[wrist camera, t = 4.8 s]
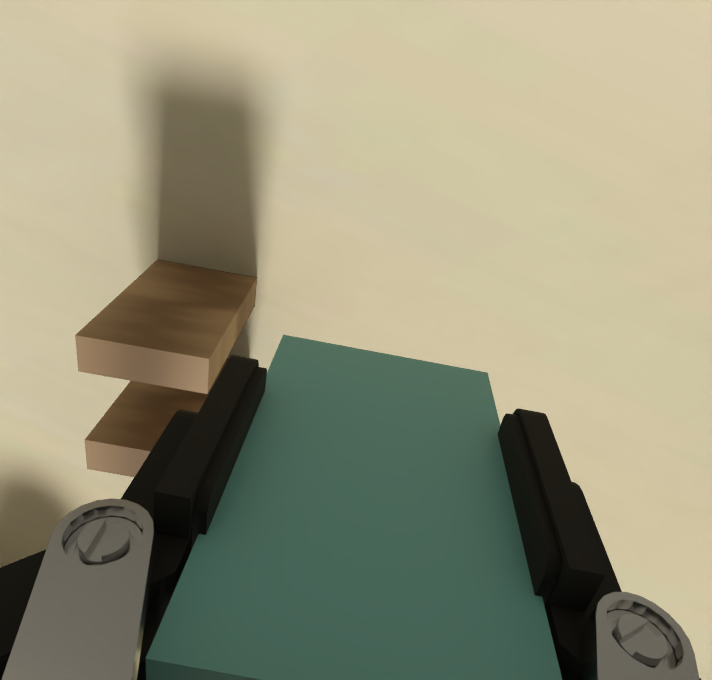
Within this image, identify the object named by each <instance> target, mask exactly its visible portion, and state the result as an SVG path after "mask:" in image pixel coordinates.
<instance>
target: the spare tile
mask: <svg viewBox="0 0 712 680" xmlns="http://www.w3.org/2000/svg"><path fill="white" fill-rule="evenodd" d="M499 428H500V422H499V418H498V414H497V410H496V406H495V402H494V398H493V394H492V390H491V386H490V381H489V377H488V373H486V372H480V371H475V370H470V369H464V368H459V367H454V366H448V365H443V364H438V363H432V362H427V361H421V360H416V359H411V358H405V357H400V356H395V355H389V354H384V353H378V352H373V351H368V350H362V349H357V348H352V347H346V346H341V345H335V344H330V343H325V342H319V341H314V340H309V339H303V338H298V337H292V336H287V335H283V337H282V339H281V342H280V344H279V346H278V349H277V351H276V353H275V356H274V358H273V360H272V363H271V365H270V367H269V370H268V372H267V377H266V386H265V392H264V395H263V397H262V399H261V402H260V404H259V407H258V409H257V412H256V414H255V417H254V419H253V421H252V424H251V426H250V429H249V431H248V434H247V436H246V439H245V441H244V443H243V446H242V448H241V451H240V453H239V456H238V458H237V461H236V463H235V465H234V468H233V470H232V473H231V475H230V478H229V480H228V483H227V485H226V487H225V490H224V492H223V495H222V497H221V500H220V502H219V504H218V507H217V509H216V512H215V514H214V517H213V519H212V522H211V524H210V526H209V529H208V531H207V534H206V535H202V534H198V536H197V539H196V541H195V543H194V546H193V548H192V551H191V553H190V555H189V558H188V560H187V562H186V565H185V567H184V569H183V572H182V574H181V576H180V579H179V581H178V583H177V586H176V588H175V590H174V593H173V595H172V598H171V600H170V602H169V605H168V607H167V609H166V612H165V614H164V616H163V619H162V621H161V623H160V626H159V628H158V630H157V633H156V635H155V637H154V640H153V642H152V644H151V647H150V649H149V652H148V654H147V656H146V680H562V676H561V672H560V668H559V664H558V660H557V656H556V652H555V647H554V643H553V639H552V635H551V631H550V627H549V623H548V619H547V615H546V611H545V607H544V602H543V598H542V597H541V596H535V594H534V590H533V586H532V582H531V577H530V573H529V569H528V564H527V560H526V556H525V551H524V547H523V543H522V538H521V534H520V530H519V525H518V521H517V517H516V512H515V508H514V504H513V499H512V495H511V491H510V486H509V482H508V478H507V473H506V469H505V465H504V460H503V456H502V452H501V447H500V443H499V439H498V431H499Z"/></svg>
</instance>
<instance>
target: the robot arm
mask: <svg viewBox="0 0 712 680" xmlns="http://www.w3.org/2000/svg"><path fill="white" fill-rule="evenodd" d="M258 366H259V363H258V360H256V359H250V358H245V357H240V356H234V355H231V356H230V358H229V359H228V361H227V363H226V365H225V366H224V368H223V370H222V372H221V373H220V375H219V377H218V379H217V380H216V382H215V384H214V386H213V388H212V389H211V391H210V393H209V395H208V396H207V398H206V400H205V402H204V403H203V405H202V407H201V409H200V410H199V412H192V411H187V410H181V409H180V410H178V411H177V412H176V413H175V414H174V415H173V417H172V418H171V420H170V422H169V423H168V425H167V426H166V428H165V430H164V431H163V433H162V434H161V436H160V438H159V439H158V441H157V442H156V444H155V445H154V447H153V449H152V450H151V452H150V453H149V455H148V457H147V458H146V460H145V461H144V463H143V465H142V466H141V468H140V469H139V471H138V472H137V474H136V476H135V477H134V479H133V480H132V482H131V484H130V485H129V487H128V488H127V490H126V492H125V493H124V495H123V496H122V498H121V499H104V500H97V501H94V502H91V503H88V504H85V505H82V506H80V507H79V508H77V509H75V510H73V511H72V512H70V513H68V514H67V515H66V516H65V517H64V518H63V519H62V520H61V521H60V522H59V523H58V524H57V526H56V528H55V530H54V531H53V533H52V535H51V538H50V540H49V543H48V546H47V549H46V550H44V551H41V552H39V553H36V554H34V555H31V556H29V557H26V558H24V559H21V560H19V561H16V562H14V563H11V564H9V565H6V566H4V567H1V568H0V680H146V656H147V654H148V652H149V649H150V647H151V644H152V642H153V640H154V637H155V635H156V633H157V630H158V628H159V626H160V623H161V621H162V619H163V616H164V614H165V612H166V609H167V607H168V605H169V602H170V600H171V598H172V595H173V593H174V590H175V588H176V586H177V583H178V581H179V579H180V576H181V574H182V572H183V569H184V567H185V565H186V562H187V560H188V558H189V555H190V553H191V551H192V548H193V546H194V543H195V541H196V539H197V536H198V534H202V535H206V534H207V531H208V529H209V526H210V524H211V522H212V519H213V517H214V514H215V512H216V509H217V507H218V504H219V502H220V500H221V497H222V495H223V492H224V490H225V487H226V485H227V483H228V480H229V478H230V475H231V473H232V470H233V468H234V465H235V463H236V461H237V458H238V456H239V453H240V451H241V448H242V446H243V443H244V441H245V439H246V436H247V434H248V431H249V429H250V426H251V424H252V421H253V419H254V417H255V414H256V412H257V409H258V407H259V404H260V402H261V399H262V397H263V395H264V392H265V386H266V377H267V369H266V368H261V367H258ZM498 439H499V443H500V447H501V452H502V456H503V460H504V465H505V469H506V473H507V478H508V482H509V486H510V491H511V495H512V499H513V504H514V508H515V512H516V517H517V521H518V525H519V530H520V534H521V538H522V543H523V547H524V551H525V556H526V560H527V564H528V569H529V573H530V577H531V582H532V586H533V590H534V594H535V596H541V597H542V598H543V602H544V607H545V611H546V615H547V619H548V623H549V627H550V631H551V635H552V639H553V643H554V647H555V652H556V656H557V660H558V664H559V668H560V672H561V676H562V680H701V679H700V678H699V675H698V670H697V665H696V660H695V654H694V651H693V649H692V646H691V643H690V640H689V639H688V637H687V635H686V634H685V632H684V631H683V629H682V628H681V626H680V625H679V624H678V623H677V622H676V621H675V620H674V619H673V618H672V617H671V616H670V615H669V614H668V613H667V612H666V611H664V610H663V609H662V608H660V607H659V606H657V605H656V604H655V603H653V602H651V601H649V600H647V599H645V598H643V597H641V596H639V595H635V594H631V593H628V592H622V591H621V589H620V586H619V584H618V581H617V579H616V576H615V573H614V571H613V568H612V566H611V563H610V561H609V558H608V556H607V553H606V551H605V548H604V545H603V543H602V540H601V538H600V535H599V533H598V530H597V528H596V525H595V522H594V520H593V517H592V515H591V512H590V510H589V507H588V505H587V502H586V499H585V497H584V494H583V492H582V490H581V488H580V486H579V485H578V484H576V483H574V482H571V480H570V477H569V474H568V472H567V469H566V466H565V464H564V461H563V458H562V456H561V453H560V450H559V448H558V445H557V442H556V440H555V437H554V434H553V432H552V429H551V426H550V424H549V421H548V418H547V416H546V414H544V413H540V412H534V411H529V410H523V409H516V410H515V412H514V413H513V414H505V416H504V418H503V420H502V423H501V426H500V428H499V431H498Z"/></svg>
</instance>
